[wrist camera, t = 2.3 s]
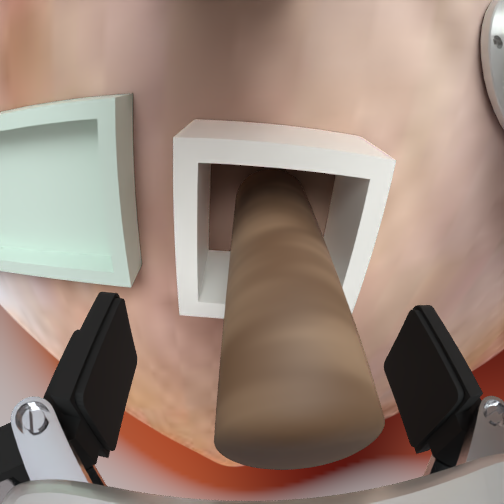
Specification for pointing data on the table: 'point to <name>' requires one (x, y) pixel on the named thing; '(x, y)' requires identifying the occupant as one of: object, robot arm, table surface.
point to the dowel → (288, 340)
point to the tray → (70, 191)
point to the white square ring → (276, 156)
